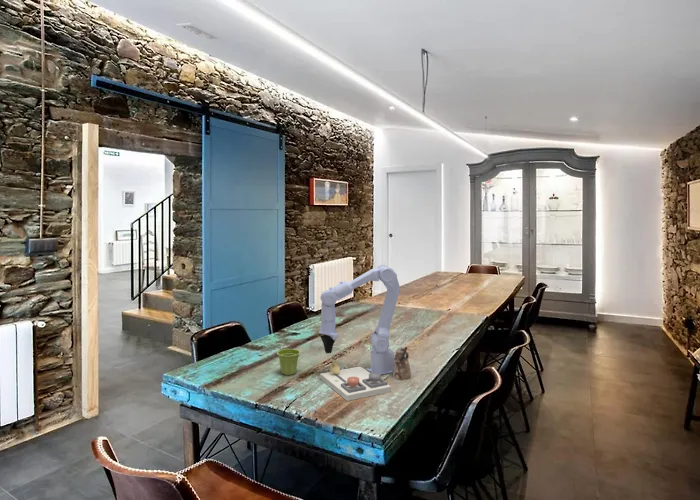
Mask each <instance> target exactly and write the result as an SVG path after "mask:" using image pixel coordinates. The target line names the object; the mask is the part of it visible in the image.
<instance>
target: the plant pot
mask: <svg viewBox="0 0 700 500" xmlns="http://www.w3.org/2000/svg"><path fill="white" fill-rule="evenodd" d="M276 354H277V357H278V359H279V366H280V373H281V374H282V375H285V376H292V375H294V374H296V373H297V368H298V359H299V356H300V354H301V351H300V350H299V349H296V348H284V349H280V350H278V351H277V352H276Z"/></svg>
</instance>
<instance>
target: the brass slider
mask: <svg viewBox="0 0 700 500" xmlns="http://www.w3.org/2000/svg"><path fill="white" fill-rule="evenodd" d="M340 370H341V366H340V365H339V364H338V361H337V360H336V359H332V361H331V364H330V365H329V372H330V373H331V374H333V375H334V374H340Z"/></svg>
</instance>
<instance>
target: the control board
mask: <svg viewBox="0 0 700 500" xmlns="http://www.w3.org/2000/svg"><path fill="white" fill-rule="evenodd" d="M370 373H371V372H370V371H368V370H367V369H365V368H363V367H362V366H356V367H351V368H343V369H340V374H334V375H333V374H331V373H330V371H327V372H323V373H320V374H319V375H320V380H321V381H323V382H324V383H325V384H326V385H327V386H329V388H331V389H332V390H334V391H335V393H337V394H338V395H339V396H340V397H342V398H343V399H344V400H345V401H347V402H349V401H350V402H351V401H353V400H359V399H363V398H367V397H373V396H377V395H381V394H382V395H383V394H386V393H387V394H388V393H391V392H392V386H391V385H389V384H388V382H387V381H386V380H384V379H382V378H381V380H380V381H377V382H373V381H370V380H369V374H370ZM349 377H358V378H359V385H357V386H349V385H348V384H347V378H349Z"/></svg>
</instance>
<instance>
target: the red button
mask: <svg viewBox="0 0 700 500" xmlns="http://www.w3.org/2000/svg"><path fill="white" fill-rule="evenodd" d="M347 384H348V385H349V386H357V385H359V378H358V377H349V378H347Z"/></svg>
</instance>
